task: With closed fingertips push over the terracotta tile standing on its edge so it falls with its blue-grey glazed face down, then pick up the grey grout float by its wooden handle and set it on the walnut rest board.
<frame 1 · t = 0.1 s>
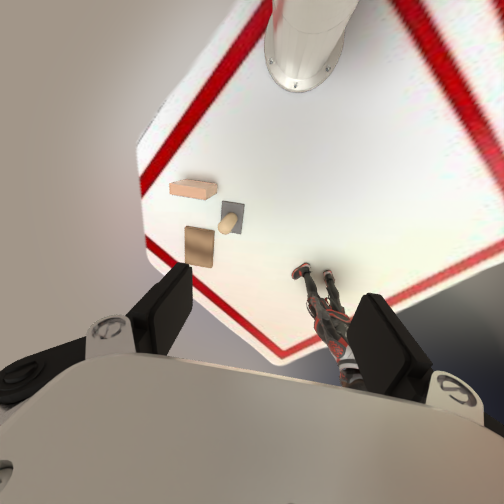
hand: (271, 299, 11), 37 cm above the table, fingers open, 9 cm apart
board: (200, 246, 52), on the table
tile: (201, 186, 45), on the table
action figure: (317, 273, 52), on the table
float: (232, 217, 48), on the table
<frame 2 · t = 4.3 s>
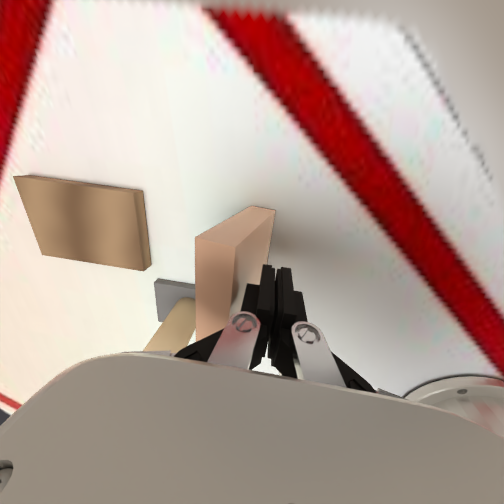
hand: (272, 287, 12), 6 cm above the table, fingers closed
board: (94, 223, 18), on the table
tile: (257, 248, 17), on the table, tilted 12°
float: (192, 303, 21), on the table
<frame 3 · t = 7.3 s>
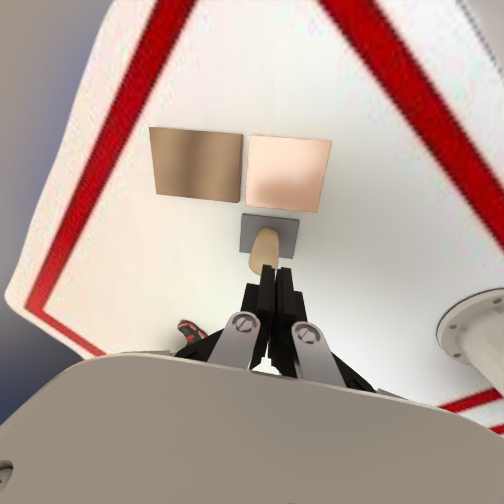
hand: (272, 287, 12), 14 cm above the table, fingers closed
board: (199, 166, 24), on the table
tile: (321, 178, 22), point 1 cm above the table, tilted 90°
action figure: (193, 346, 37), on the table
float: (268, 235, 26), on the table
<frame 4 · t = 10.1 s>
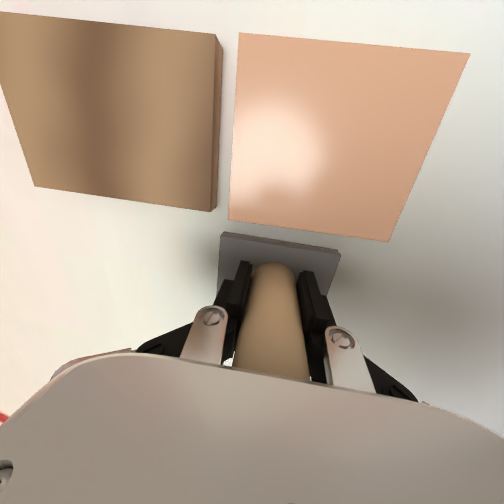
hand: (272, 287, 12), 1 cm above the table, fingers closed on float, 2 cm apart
board: (125, 127, 11), on the table
tile: (408, 163, 9), point 1 cm above the table, tilted 90°
float: (272, 274, 14), on the table, touching gripper
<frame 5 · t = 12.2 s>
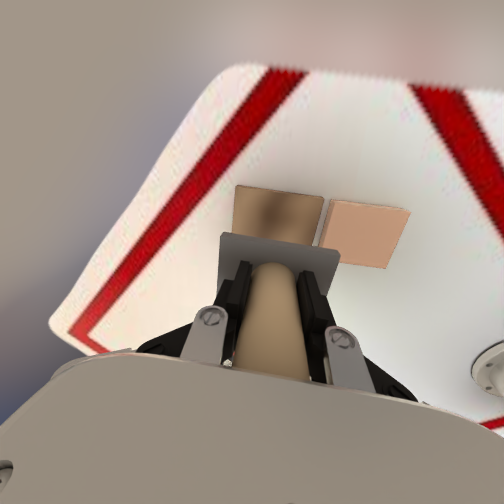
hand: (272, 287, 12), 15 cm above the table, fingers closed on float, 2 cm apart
board: (274, 219, 25), on the table
tile: (392, 239, 24), point 1 cm above the table, tilted 90°
float: (272, 275, 13), point 13 cm above the table, touching gripper
when the fingers open (4 cm above the table, at t = 14.2 s): float drops 1 cm, resting on board.
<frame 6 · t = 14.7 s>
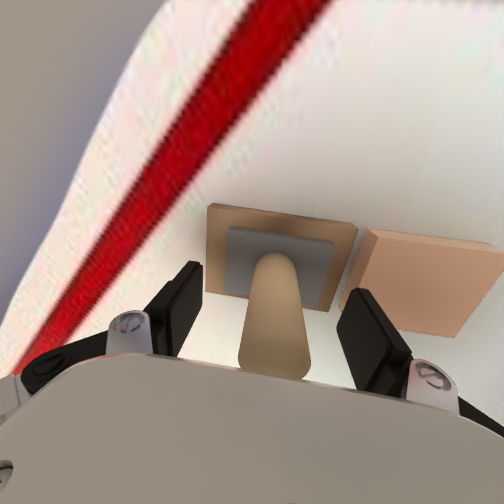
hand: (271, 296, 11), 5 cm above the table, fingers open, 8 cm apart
board: (273, 256, 16), on the table
tile: (468, 292, 15), point 1 cm above the table, tilted 90°
float: (274, 265, 15), point 1 cm above the table, touching board
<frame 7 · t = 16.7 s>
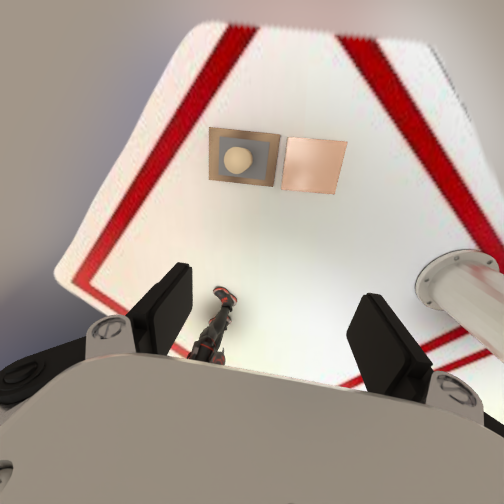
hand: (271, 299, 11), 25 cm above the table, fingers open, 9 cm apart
board: (243, 158, 31), on the table
tile: (338, 168, 30), point 1 cm above the table, tilted 90°
action figure: (223, 309, 45), on the table
float: (243, 158, 30), point 1 cm above the table, touching board
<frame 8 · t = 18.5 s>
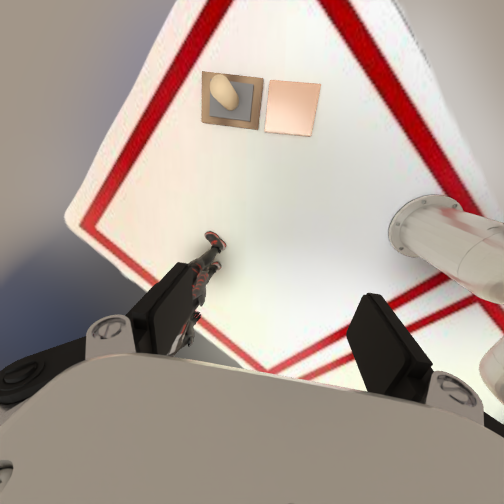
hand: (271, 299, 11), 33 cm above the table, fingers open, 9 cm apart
board: (232, 102, 35), on the table
tile: (314, 112, 34), point 1 cm above the table, tilted 90°
action figure: (214, 255, 49), on the table
float: (231, 101, 34), point 1 cm above the table, touching board
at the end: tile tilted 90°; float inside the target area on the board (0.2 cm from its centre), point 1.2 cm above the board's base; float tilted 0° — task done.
